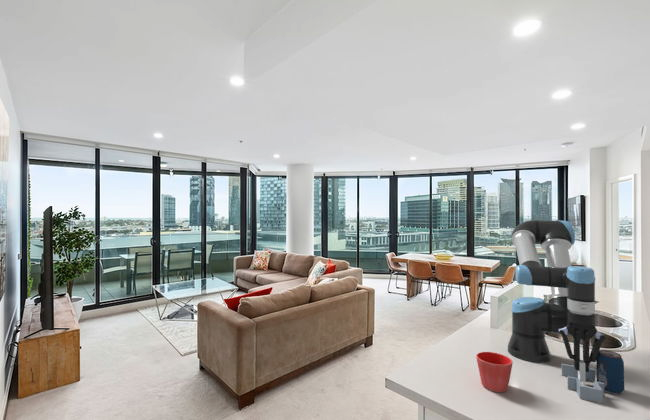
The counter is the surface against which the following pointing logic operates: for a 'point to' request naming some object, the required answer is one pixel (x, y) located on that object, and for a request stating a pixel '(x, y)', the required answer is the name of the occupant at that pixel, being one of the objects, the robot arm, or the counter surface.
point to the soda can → (610, 371)
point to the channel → (583, 391)
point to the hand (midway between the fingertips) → (581, 379)
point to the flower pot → (494, 370)
